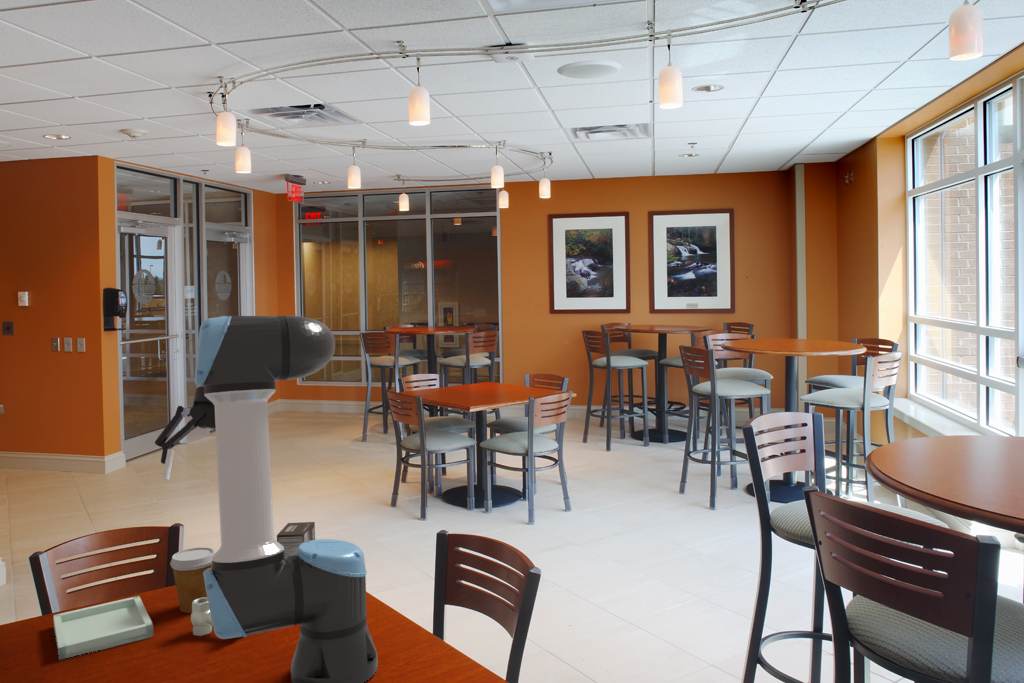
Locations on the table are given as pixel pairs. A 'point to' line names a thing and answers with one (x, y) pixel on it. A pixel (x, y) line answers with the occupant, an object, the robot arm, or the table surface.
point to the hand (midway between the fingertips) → (198, 481)
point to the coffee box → (295, 536)
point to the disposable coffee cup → (191, 574)
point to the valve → (201, 617)
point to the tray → (101, 627)
